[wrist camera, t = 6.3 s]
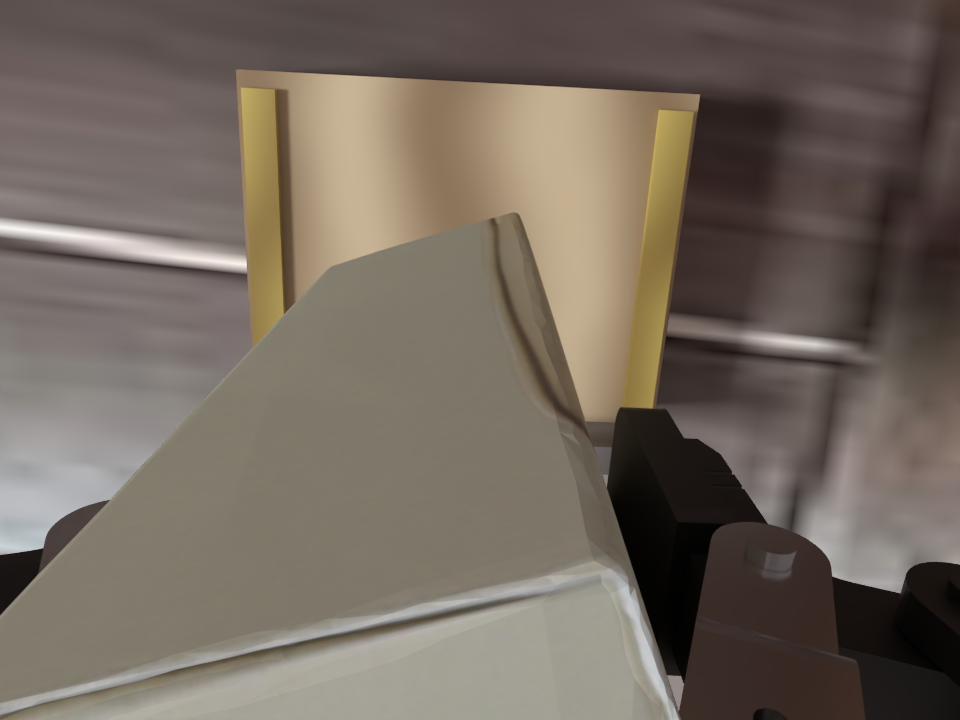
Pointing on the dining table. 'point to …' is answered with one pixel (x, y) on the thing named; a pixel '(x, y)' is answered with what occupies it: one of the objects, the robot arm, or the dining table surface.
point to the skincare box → (360, 526)
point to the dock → (479, 200)
